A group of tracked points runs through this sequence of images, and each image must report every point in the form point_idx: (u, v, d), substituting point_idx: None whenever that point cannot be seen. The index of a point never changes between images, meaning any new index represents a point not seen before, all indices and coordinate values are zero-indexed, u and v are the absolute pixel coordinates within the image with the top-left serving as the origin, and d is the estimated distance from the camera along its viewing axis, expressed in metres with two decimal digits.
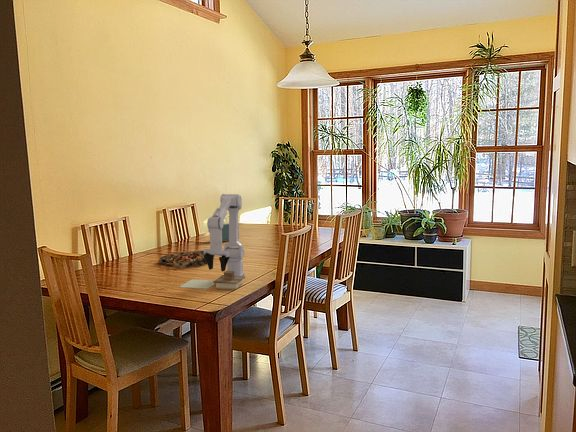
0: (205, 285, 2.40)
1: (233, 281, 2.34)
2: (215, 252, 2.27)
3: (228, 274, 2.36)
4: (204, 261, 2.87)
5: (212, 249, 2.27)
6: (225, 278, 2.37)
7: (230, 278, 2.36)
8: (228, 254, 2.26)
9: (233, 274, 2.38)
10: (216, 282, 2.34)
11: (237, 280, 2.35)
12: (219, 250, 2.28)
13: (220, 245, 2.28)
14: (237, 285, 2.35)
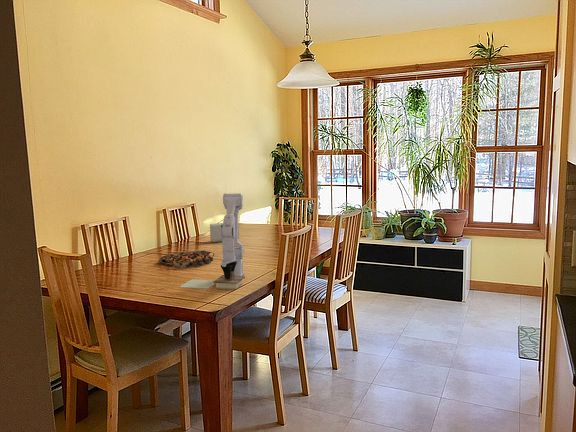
0: (205, 285, 2.40)
1: (233, 281, 2.34)
2: (222, 259, 2.36)
3: None
4: (204, 261, 2.87)
5: None
6: None
7: (230, 278, 2.36)
8: (223, 264, 2.30)
9: (233, 274, 2.38)
10: (216, 282, 2.34)
11: (237, 280, 2.35)
12: (225, 258, 2.35)
13: (226, 254, 2.34)
14: (237, 285, 2.35)
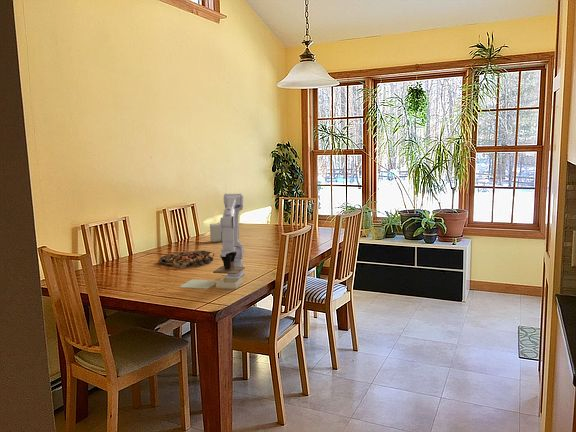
0: (205, 285, 2.40)
1: (233, 271, 2.33)
2: (222, 250, 2.36)
3: None
4: (204, 261, 2.87)
5: None
6: None
7: (230, 268, 2.36)
8: (223, 254, 2.30)
9: (233, 265, 2.38)
10: (216, 272, 2.33)
11: (237, 270, 2.35)
12: (224, 249, 2.34)
13: (225, 244, 2.34)
14: (237, 285, 2.35)
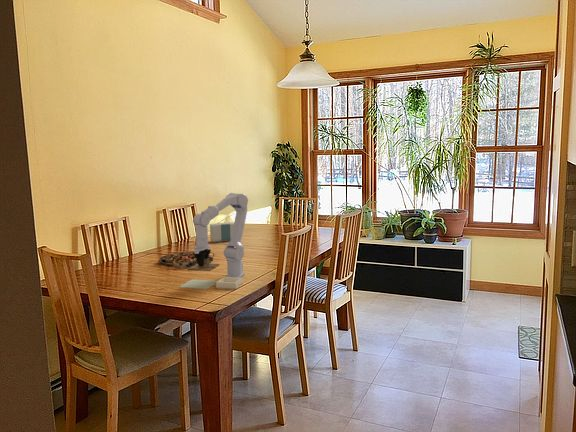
0: (205, 285, 2.40)
1: (207, 268, 2.36)
2: (196, 247, 2.39)
3: None
4: None
5: None
6: (199, 266, 2.39)
7: (204, 266, 2.39)
8: (196, 251, 2.33)
9: (207, 262, 2.41)
10: (190, 270, 2.36)
11: (211, 267, 2.38)
12: (198, 246, 2.37)
13: (199, 241, 2.37)
14: (237, 285, 2.35)
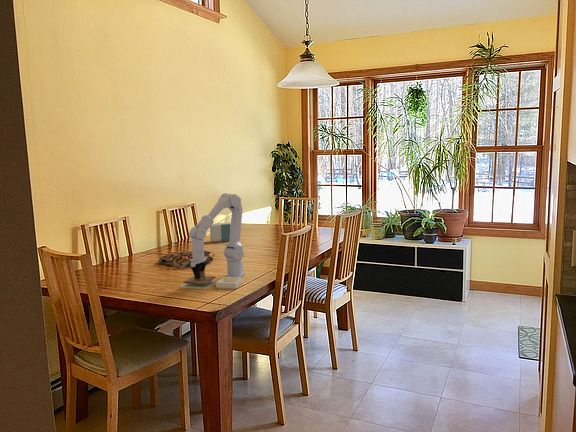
0: (205, 285, 2.40)
1: (203, 281, 2.37)
2: (192, 260, 2.40)
3: None
4: (204, 261, 2.87)
5: None
6: None
7: (200, 278, 2.40)
8: (192, 264, 2.34)
9: (203, 275, 2.42)
10: (186, 282, 2.38)
11: (207, 280, 2.39)
12: (194, 259, 2.39)
13: (195, 254, 2.38)
14: (237, 285, 2.35)
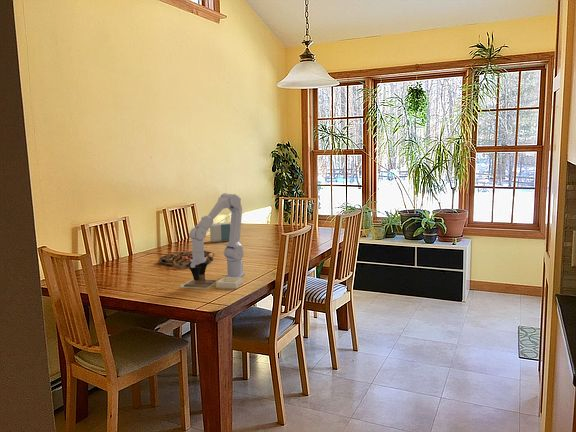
0: None
1: (203, 285, 2.38)
2: (192, 261, 2.40)
3: None
4: None
5: None
6: (195, 282, 2.41)
7: (200, 282, 2.40)
8: (192, 265, 2.34)
9: (203, 278, 2.42)
10: (186, 286, 2.38)
11: (207, 284, 2.39)
12: (194, 260, 2.39)
13: (195, 255, 2.38)
14: (237, 285, 2.35)
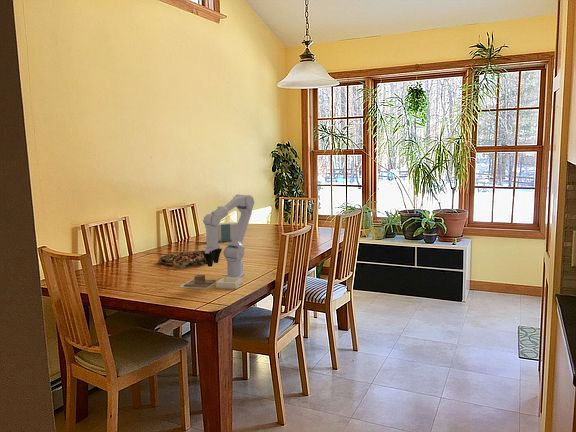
0: None
1: (203, 285, 2.38)
2: (206, 247, 2.42)
3: (198, 278, 2.40)
4: (204, 261, 2.87)
5: None
6: (195, 282, 2.41)
7: (200, 282, 2.40)
8: (206, 251, 2.36)
9: (203, 278, 2.42)
10: (186, 286, 2.38)
11: (207, 284, 2.39)
12: (208, 246, 2.40)
13: (209, 241, 2.40)
14: (237, 285, 2.35)
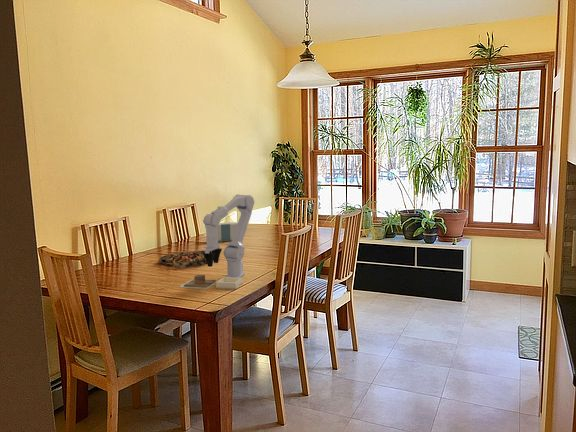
0: None
1: (203, 285, 2.38)
2: (206, 247, 2.42)
3: (198, 278, 2.40)
4: (204, 261, 2.87)
5: None
6: (195, 282, 2.41)
7: (200, 282, 2.40)
8: (206, 251, 2.36)
9: (203, 278, 2.42)
10: (186, 286, 2.38)
11: (207, 284, 2.39)
12: (208, 246, 2.40)
13: (209, 241, 2.40)
14: (237, 285, 2.35)
